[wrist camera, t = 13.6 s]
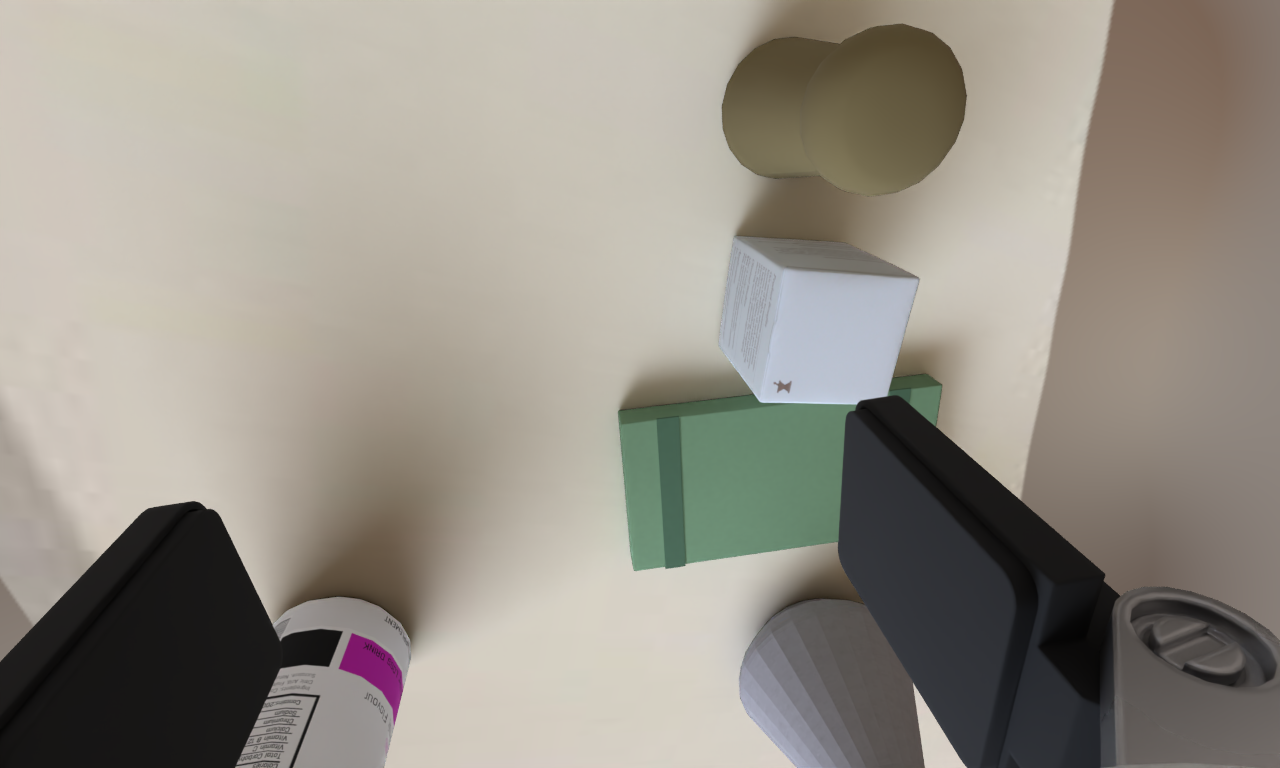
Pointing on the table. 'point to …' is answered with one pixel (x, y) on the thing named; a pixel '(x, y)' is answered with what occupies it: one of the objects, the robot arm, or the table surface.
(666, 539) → the dish towel
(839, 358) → the product box
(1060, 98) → the table surface
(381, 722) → the supplement can
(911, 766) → the coffee pot
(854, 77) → the olive pawn
